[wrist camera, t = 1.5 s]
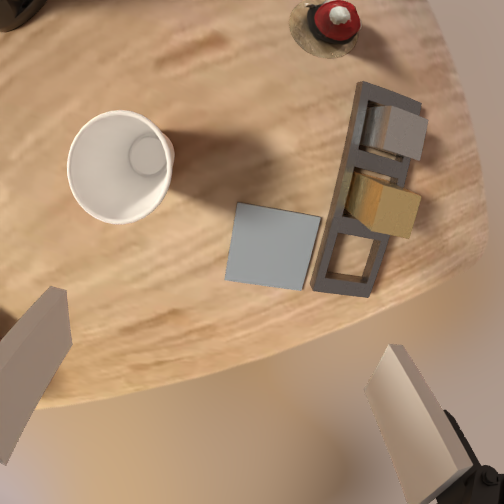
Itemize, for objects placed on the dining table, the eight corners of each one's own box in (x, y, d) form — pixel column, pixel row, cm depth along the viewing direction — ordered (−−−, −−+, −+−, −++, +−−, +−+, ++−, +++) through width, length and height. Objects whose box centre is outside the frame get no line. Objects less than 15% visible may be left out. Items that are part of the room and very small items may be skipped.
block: (365, 107, 33) (391, 105, 27) (398, 118, 34) (428, 119, 27) (358, 143, 35) (383, 148, 28) (391, 153, 35) (419, 160, 29)
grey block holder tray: (356, 82, 32) (363, 80, 30) (413, 103, 33) (421, 103, 31) (309, 283, 41) (313, 290, 40) (363, 290, 42) (368, 297, 40)
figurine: (371, -21, 23) (397, 28, 20) (348, 37, 33) (361, 97, 29) (299, -39, 23) (305, 3, 19) (285, 24, 32) (285, 81, 29)
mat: (237, 202, 37) (237, 203, 37) (319, 216, 38) (320, 217, 38) (224, 278, 41) (224, 280, 40) (300, 289, 42) (301, 290, 41)
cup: (144, 97, 32) (107, 87, 22) (209, 148, 34) (196, 157, 24) (96, 164, 34) (49, 181, 24) (157, 213, 37) (128, 246, 27)
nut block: (352, 171, 36) (383, 185, 28) (385, 179, 36) (421, 196, 28) (343, 207, 38) (371, 230, 29) (376, 214, 38) (409, 238, 30)
